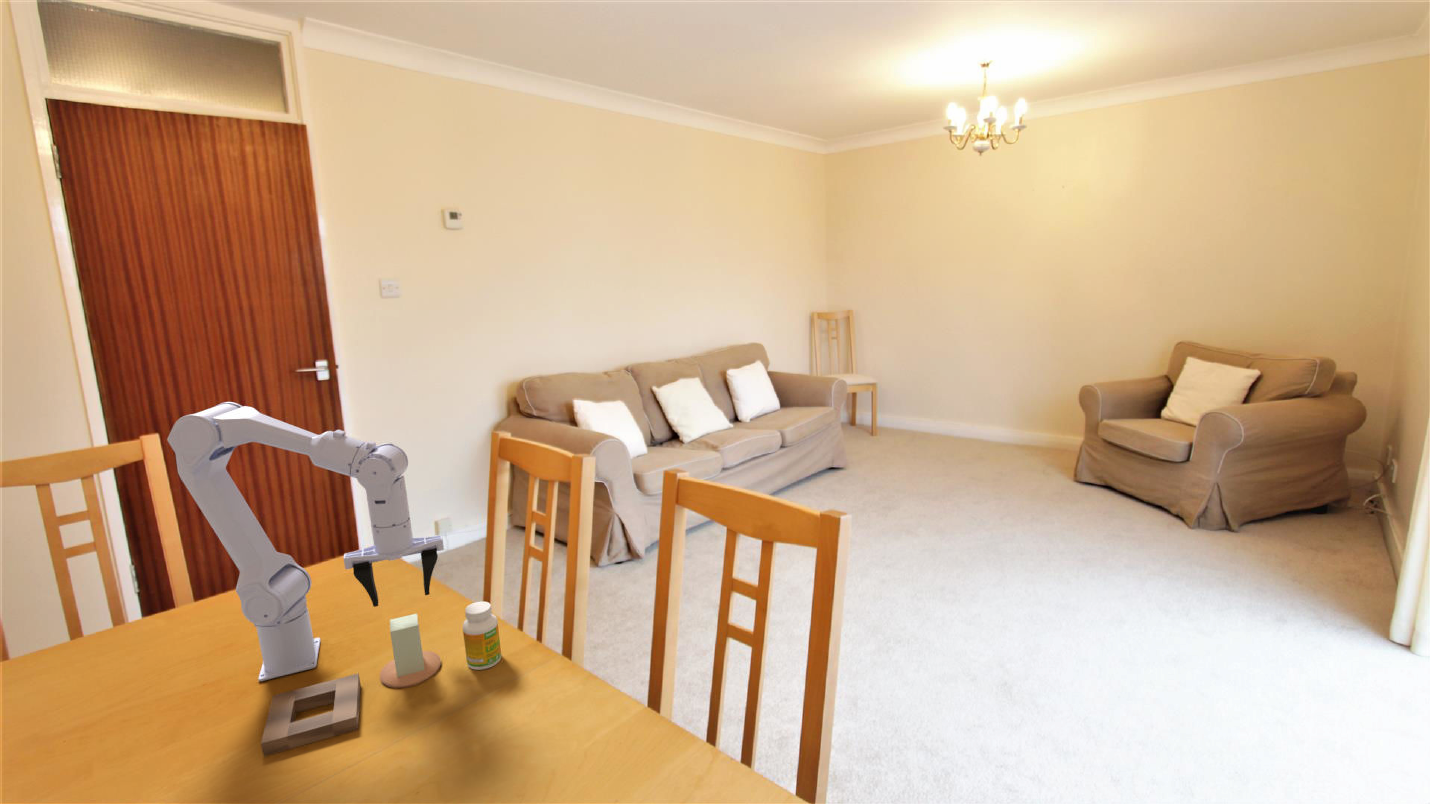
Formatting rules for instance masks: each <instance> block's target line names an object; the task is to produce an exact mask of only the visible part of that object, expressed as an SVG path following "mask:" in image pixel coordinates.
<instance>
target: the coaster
mask: <svg viewBox="0 0 1430 804" xmlns="http://www.w3.org/2000/svg"><path fill="white" fill-rule="evenodd" d="M422 652H423V660H424V670H423V671H420V672H416V673H412V674H408V675H405V676H401V677H397V673H396V667H395V660H394V658H393V659H391V660H390V661H388V662H387V663H386V664H385V665H384V666H382V668H381V670H380V672H379V679H380V683H381V684H383V685H384V686H385V687H387V688H394V689H400V688H401V689H403V688H408V687H412V686H416V685H419V684H421V683H423V682H426V681H427V680H428V679H430V678H432V677H433V676H435V675H436V674H437V673H438V672H439V670H440V668H441V667H442V666H441V665H442V660H441V657H440V655H439V654H437V653H436V652H433V651H429V650H422Z"/></svg>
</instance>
